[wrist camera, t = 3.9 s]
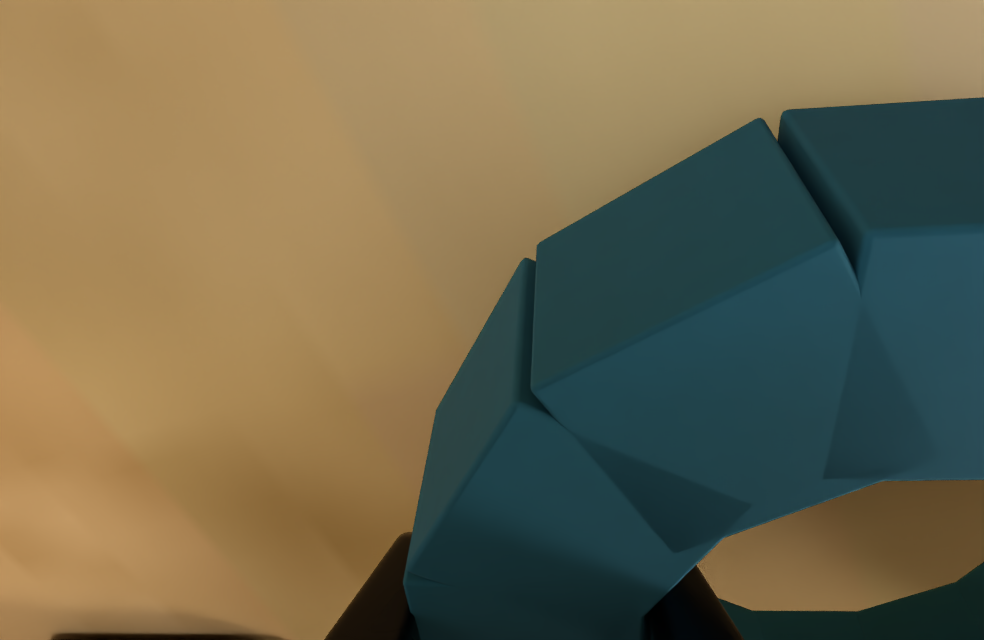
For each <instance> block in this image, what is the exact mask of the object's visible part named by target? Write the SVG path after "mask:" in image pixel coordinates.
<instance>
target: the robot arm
mask: <svg viewBox="0 0 984 640" xmlns="http://www.w3.org/2000/svg"><path fill="white" fill-rule="evenodd" d="M411 537H412V532H406V533H403V534H401V535H400V536H399V537H398V538H397V539H396V541H395V542H394V544H393V545H392V546H391V548H390V549H389V551H388V552H387V553H386V555H385V556H384V557H383V559H382V560H381V562H380V563H379V564H378V566H377V567H376V569H375V570H374V571H373V573H372V574H371V575H370V577H369V578H368V580H367V581H366V582H365V584H364V585H363V587H362V588H361V589H360V591H359V592H358V593H357V595H356V596H355V598H354V599H353V600H352V602H351V603H350V605H349V606H348V607H347V609H346V610H345V612H344V613H343V614H342V616H341V617H340V618H339V620H338V621H337V623H336V624H335V625H334V627H333V628H332V630H331V631H330V632H329V634H328V635H327V636H326V638H325V639H324V640H421V639H420V635H419V631H418V628H417V624H416V620H415V617H414V615H413V614H412V613H411V612H410V609H409V605H408V601H407V597H406V593H405V589H404V585H403V579H404V574H405V569H406V563H407V558H408V552H409V547H410V542H411ZM643 640H744V638H743V637H742V635H741V634H740V632H739V631H738V629H737V628H736V626H735V624H734V623H733V621H732V620H731V618H730V617H729V615H728V614H727V612H726V610H725V609H724V607H723V606H722V604H721V603H720V601H719V600H718V598H717V596H716V595H715V593H714V592H713V590H712V589H711V587H710V586H709V584H708V582H707V581H706V579H705V578H704V576H703V575H702V573H701V572H700V570H699V568H698V567H697V565H696V566H695V567H694V568H692V569H691V570H690V571H689V572H688V573H687V574H686V575H685V576H684V577H683V578H682V579H681V580H680V581H679V582H678V583H677V584H676V585H675V586H674V587H673V588H672V589H671V590H670V591H669V592H668V593H667V594H666V595H665V596H664V597H663V598H662V599H661V600H660V601H659V602H658V603H657V604H656V605H655V606H654V607H653V608H652V609H651V610H650V611H649V612H648V613H647V614H646V615H645V616H644V639H643Z"/></svg>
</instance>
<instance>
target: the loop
mask: <svg viewBox="0 0 984 640" xmlns="http://www.w3.org/2000/svg"><path fill="white" fill-rule="evenodd" d="M922 480H984V98H968V99H952V100H936V101H920V102H904V103H888V104H872V105H856V106H840V107H824V108H808V109H792V110H786V111H783V113H782V115H781V119H780V127H779V135H778V142H777V140H776V138H775V137H774V135H773V134H772V132H771V130H770V129H769V127H768V126H767V124H766V122H765V121H764V120H763V119H761V118H758V119H755V120H753V121H752V122H750V123H748V124H746V125H745V126H743V127H741V128H739V129H737V130H736V131H734V132H732V133H730V134H729V135H727V136H725V137H723V138H722V139H720V140H718V141H716V142H715V143H713V144H711V145H709V146H708V147H706V148H704V149H702V150H701V151H699V152H697V153H695V154H694V155H692V156H690V157H688V158H687V159H685V160H683V161H681V162H680V163H678V164H676V165H674V166H673V167H671V168H669V169H667V170H666V171H664V172H662V173H660V174H659V175H657V176H655V177H653V178H652V179H650V180H648V181H646V182H645V183H643V184H641V185H639V186H638V187H636V188H634V189H632V190H631V191H629V192H627V193H625V194H624V195H622V196H620V197H618V198H617V199H615V200H613V201H611V202H610V203H608V204H606V205H604V206H603V207H601V208H599V209H597V210H596V211H594V212H592V213H590V214H589V215H587V216H585V217H583V218H582V219H580V220H578V221H576V222H575V223H573V224H571V225H569V226H568V227H566V228H564V229H562V230H561V231H559V232H557V233H555V234H554V235H552V236H550V237H548V238H547V239H545V240H543V241H541V242H540V243H539V244H538V245H537V253H536V261H534V260H531V259H529V258H524V259H523V260H522V261H521V262H520V264H519V266H518V267H517V269H516V271H515V273H514V275H513V276H512V278H511V280H510V282H509V283H508V285H507V287H506V289H505V290H504V292H503V294H502V296H501V297H500V299H499V301H498V303H497V304H496V306H495V308H494V310H493V311H492V313H491V315H490V317H489V318H488V320H487V322H486V324H485V325H484V327H483V329H482V331H481V332H480V334H479V336H478V338H477V339H476V341H475V343H474V345H473V346H472V348H471V350H470V352H469V353H468V355H467V357H466V359H465V360H464V362H463V364H462V366H461V367H460V369H459V371H458V373H457V375H456V376H455V378H454V380H453V382H452V383H451V385H450V387H449V389H448V390H447V392H446V394H445V396H444V397H443V399H442V401H441V403H440V404H439V406H438V408H437V410H436V414H435V419H434V424H433V429H432V434H431V439H430V445H429V450H428V455H427V460H426V465H425V470H424V475H423V481H422V486H421V491H420V496H419V501H418V506H417V511H416V516H415V522H414V527H413V532H412V537H411V542H410V547H409V552H408V558H407V563H406V569H405V574H404V579H403V585H404V589H405V593H406V597H407V601H408V605H409V609H410V612H411V613H412V614H413V615H414V617H415V620H416V624H417V628H418V631H419V635H420V639H421V640H643V639H644V616H645V615H646V614H647V613H648V612H649V611H650V610H651V609H652V608H653V607H654V606H655V605H656V604H657V603H658V602H659V601H660V600H661V599H662V598H663V597H664V596H665V595H666V594H667V593H668V592H669V591H670V590H671V589H672V588H673V587H674V586H675V585H676V584H677V583H678V582H679V581H680V580H681V579H682V578H683V577H684V576H685V575H686V574H687V573H688V572H689V571H690V570H691V569H692V568H694V567H695V566H696V565H697V564H698V563H699V562H700V561H701V560H702V559H703V558H704V557H705V556H706V555H707V554H708V553H709V552H710V551H711V550H712V549H713V548H714V547H715V546H716V545H717V544H718V543H719V542H720V541H721V540H722V539H723V538H725V537H728V536H730V535H733V534H736V533H739V532H741V531H744V530H747V529H750V528H753V527H755V526H758V525H761V524H764V523H767V522H769V521H772V520H775V519H778V518H781V517H783V516H786V515H789V514H792V513H795V512H797V511H800V510H803V509H806V508H809V507H811V506H814V505H817V504H820V503H823V502H825V501H828V500H831V499H834V498H837V497H839V496H842V495H845V494H848V493H850V492H853V491H856V490H859V489H862V488H864V487H867V486H870V485H873V484H876V483H878V482H881V481H922ZM718 600H719V601H720V603H721V604H722V606H723V607H724V609H725V610H726V612H727V614H728V615H729V617H730V618H731V620H732V621H733V623H734V624H735V626H736V628H737V629H738V631H739V632H740V634H741V635H742V637H743V638H744V640H984V562H983V563H982V564H980V565H979V566H977V567H976V568H975V569H973V570H972V571H971V572H969V573H968V574H966V575H965V576H964V577H962V578H961V579H960V580H958V581H957V582H955V583H951V584H948V585H945V586H941V587H938V588H935V589H931V590H928V591H925V592H921V593H918V594H915V595H911V596H908V597H904V598H901V599H898V600H894V601H891V602H888V603H884V604H881V605H878V606H874V607H871V608H867V609H864V610H861V611H752V610H749V609H746V608H743V607H741V606H738V605H735V604H732V603H730V602H727V601H724V600H722V599H719V598H718Z"/></svg>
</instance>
